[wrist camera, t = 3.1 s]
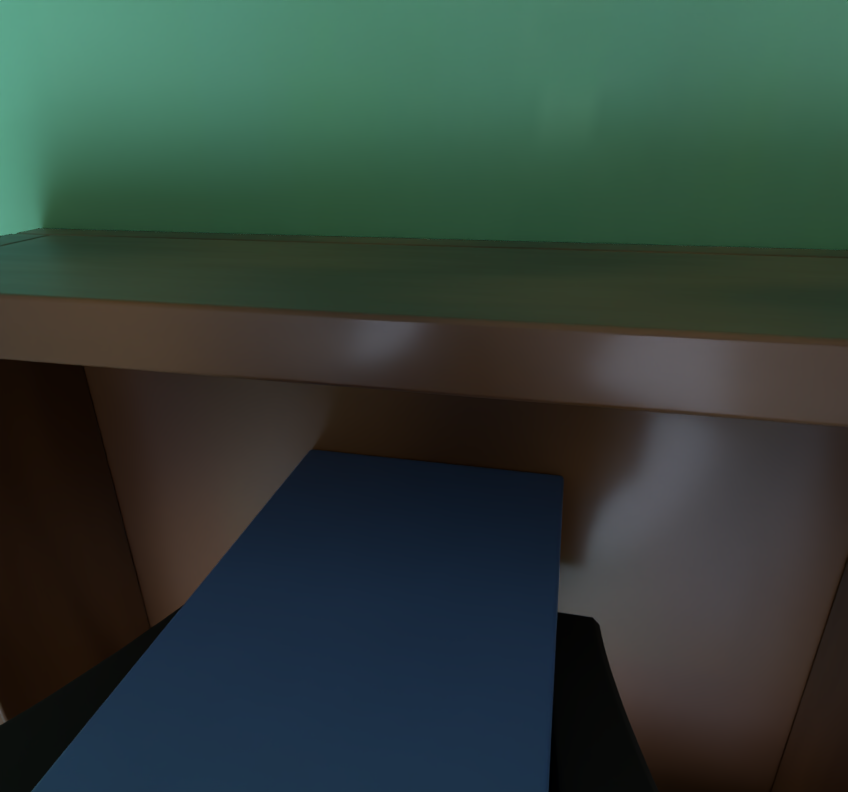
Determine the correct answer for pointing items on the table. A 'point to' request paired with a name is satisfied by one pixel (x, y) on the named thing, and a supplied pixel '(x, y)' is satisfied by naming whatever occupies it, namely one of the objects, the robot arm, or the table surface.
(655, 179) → the table surface
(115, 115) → the table surface
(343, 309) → the bin
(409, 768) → the blue block
